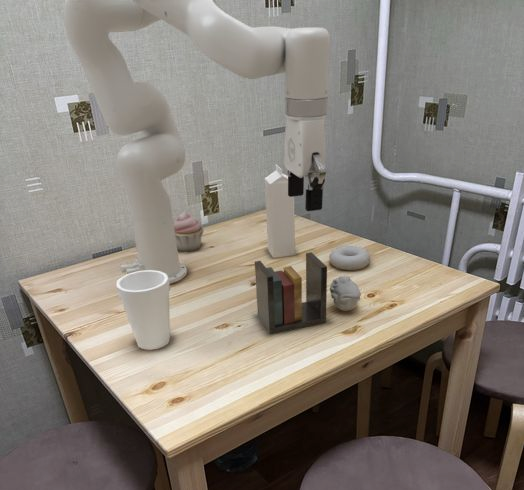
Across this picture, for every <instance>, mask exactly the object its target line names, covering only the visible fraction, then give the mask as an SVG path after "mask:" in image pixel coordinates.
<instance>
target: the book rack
mask: <svg viewBox="0 0 524 490" xmlns="http://www.w3.org/2000/svg"><path fill="white" fill-rule="evenodd" d="M254 274H255V275H254V276H255V290H256V308H257V309H256V310H257V317H258V319H259V320H260V322H261V323H262V325H263V327H264V328H265V329H266V332H268V334H269V335H273V334H278V333H283V332H287V331H292V330H298V329H303V328H306V327H312V326H317V325H322V324H326V323H327V302H328V301H327V299H328V298H327V296H328V293H327V292H328V266H327V264H325V263H324V262H323V261H322V260H320V259H319V258H318V257H317V256H316V255H315V254H314V253H313V252H311V251H309V252H306V253H305V301H303V280H302V279H303V278H302V276H301V275H300V274H299V273H298V272H297V271H296V270H295V269H294V267H292V266H291V265H290V266H284V267H283V270H281V269H280V270H276V271H275V270H274V269H273V268H272V267H271V266H269V267H266V266H265V264H264V263H263V262H262V261H261V260H256V261H254Z"/></svg>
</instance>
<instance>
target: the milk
mask: <svg viewBox="0 0 524 490" xmlns="http://www.w3.org/2000/svg"><path fill="white" fill-rule="evenodd" d="M264 193H265V215H266V235H267V236H266V238H267V240H266V241H267V251H268V253H269V254H270V255H271V257H272V258H273V259H275V258H284V257H291V256H295V255H296V229H295V228H296V227H295V226H296V224H295V223H296V221H295V218H296V217H295V196H294V197H289V196H288V174H284V173H283V169H282V168H281V167H280V166H279V165H278V164H277V163H276V164H275V170H274V171H272V172H271V173H270V174H269V175H267V176H266V177H264Z"/></svg>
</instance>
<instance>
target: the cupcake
mask: <svg viewBox="0 0 524 490" xmlns="http://www.w3.org/2000/svg"><path fill="white" fill-rule="evenodd" d="M173 223H174V230H175V237H176V244H177V250H179V251H181V252H191V251H196V250H198V249H199V248H200V247H201V244H202V237H203V234H204V232H205V230H204V227H202V225H201V222H200V221H199V220H198V219H197V217H195V216H193V215H191V214H190V213H188V212H187V211H184V212H181V213H180V214H179V215H178V217H177V219H176V220H175V221H173Z"/></svg>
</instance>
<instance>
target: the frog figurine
mask: <svg viewBox="0 0 524 490" xmlns="http://www.w3.org/2000/svg"><path fill="white" fill-rule="evenodd" d="M329 292H330V296H331V299H333V303H334V305H335V306H336V308H337V309H338V310H341V311H342V312H343V311H344V312H347V311H348V312H349V311H351V310H353V309H355V308H356V307H357V305H358V304H359V303H358V302H359V301H360V300H361V296H362V293H361V290H360V288H359V286H358V284H357V283H356V282H354V281H353V279H351V277H350V276H349V275H342V276H338V277H336V278H334V279H333V280H332V281H331V282H330V285H329Z"/></svg>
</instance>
